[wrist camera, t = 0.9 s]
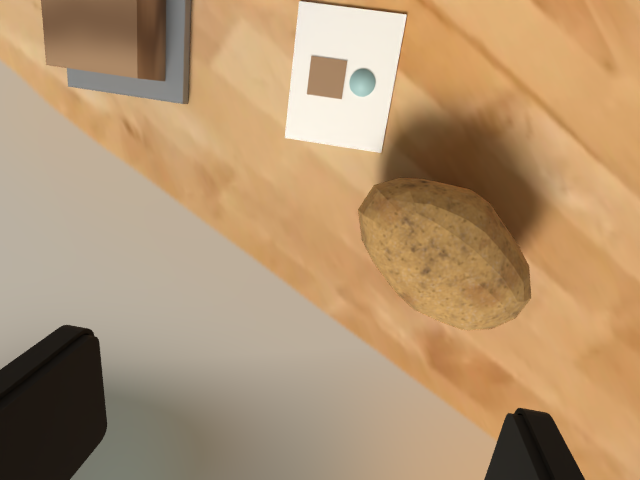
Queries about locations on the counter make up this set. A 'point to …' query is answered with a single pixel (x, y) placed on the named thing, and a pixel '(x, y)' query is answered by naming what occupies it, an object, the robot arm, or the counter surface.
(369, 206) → the potato
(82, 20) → the brown square block
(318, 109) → the page
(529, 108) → the counter surface
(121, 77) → the baseplate
